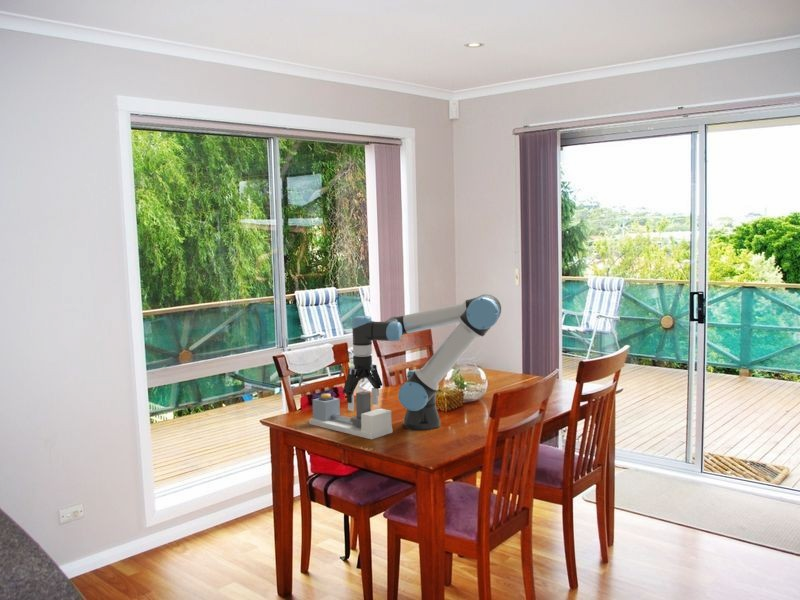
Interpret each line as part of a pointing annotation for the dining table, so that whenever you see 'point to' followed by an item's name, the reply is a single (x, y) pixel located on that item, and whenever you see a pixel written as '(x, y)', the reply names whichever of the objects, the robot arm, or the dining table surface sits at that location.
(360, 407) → the carriage
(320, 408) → the gauge cabinet
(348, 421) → the rail bar
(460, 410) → the dining table surface
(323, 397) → the button
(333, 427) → the rail track
